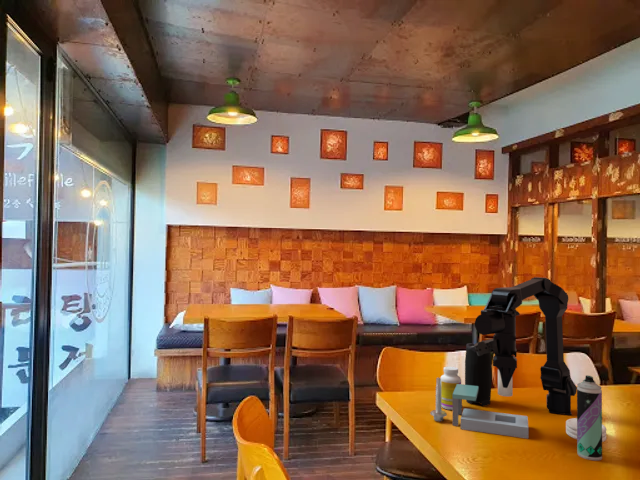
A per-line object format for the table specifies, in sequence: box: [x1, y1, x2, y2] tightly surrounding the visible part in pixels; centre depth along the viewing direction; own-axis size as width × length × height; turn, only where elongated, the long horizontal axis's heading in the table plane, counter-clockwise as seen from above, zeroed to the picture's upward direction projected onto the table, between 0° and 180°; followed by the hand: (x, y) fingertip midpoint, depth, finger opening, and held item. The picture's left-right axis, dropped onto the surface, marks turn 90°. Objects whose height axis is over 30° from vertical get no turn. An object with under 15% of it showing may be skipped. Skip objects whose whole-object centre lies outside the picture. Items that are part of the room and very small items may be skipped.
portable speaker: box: [464, 342, 492, 407], centre depth 163 cm, size 9×9×20 cm
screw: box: [429, 376, 447, 423], centre depth 145 cm, size 13×5×5 cm
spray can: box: [576, 374, 603, 461], centre depth 120 cm, size 6×6×20 cm
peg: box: [497, 368, 514, 397], centre depth 138 cm, size 4×4×9 cm
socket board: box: [460, 407, 529, 439], centre depth 139 cm, size 18×10×3 cm, turn 68°
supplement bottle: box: [440, 366, 462, 411], centre depth 157 cm, size 7×7×13 cm
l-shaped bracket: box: [452, 383, 478, 427], centre depth 145 cm, size 6×12×9 cm, turn 158°
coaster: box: [565, 417, 607, 443], centre depth 134 cm, size 10×10×4 cm
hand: (505, 385), depth 138 cm, fingers closed on peg, 4 cm apart
